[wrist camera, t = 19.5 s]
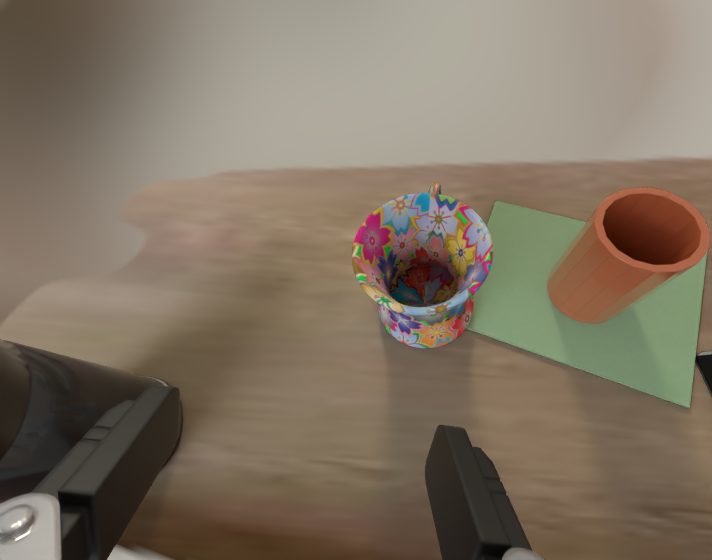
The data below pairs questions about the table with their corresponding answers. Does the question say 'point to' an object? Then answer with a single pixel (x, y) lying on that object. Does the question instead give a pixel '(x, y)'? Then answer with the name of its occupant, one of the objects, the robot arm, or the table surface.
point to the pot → (627, 253)
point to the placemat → (577, 339)
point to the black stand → (705, 367)
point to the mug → (423, 265)
